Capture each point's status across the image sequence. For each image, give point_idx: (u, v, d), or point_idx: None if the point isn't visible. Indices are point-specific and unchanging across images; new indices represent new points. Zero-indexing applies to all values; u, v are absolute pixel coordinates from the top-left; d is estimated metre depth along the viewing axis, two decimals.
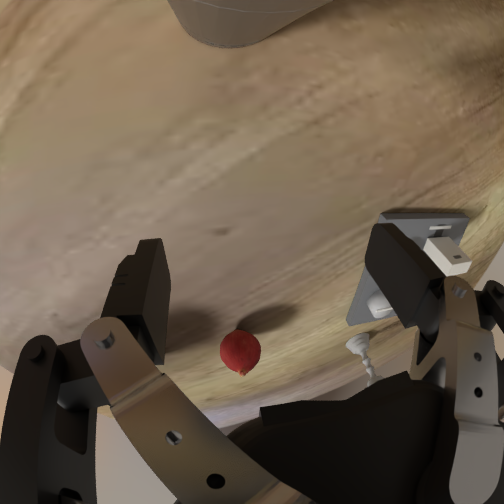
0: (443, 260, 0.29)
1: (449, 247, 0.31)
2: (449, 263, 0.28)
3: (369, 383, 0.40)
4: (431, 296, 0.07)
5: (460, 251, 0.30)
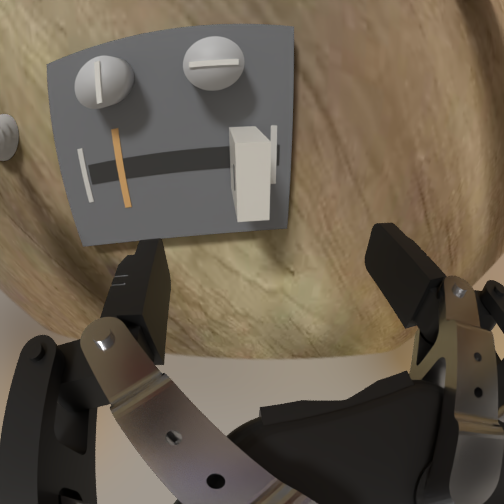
0: (256, 136, 0.16)
1: None
2: (266, 140, 0.15)
3: None
4: (431, 296, 0.07)
5: None
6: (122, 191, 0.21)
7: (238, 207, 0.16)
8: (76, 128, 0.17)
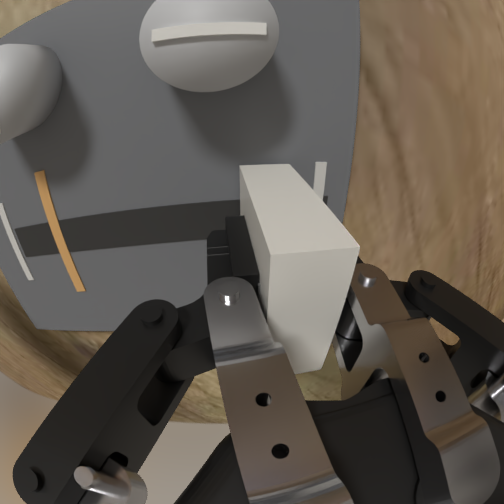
0: (310, 212, 0.07)
1: None
2: (343, 235, 0.06)
3: None
4: None
5: None
6: (68, 269, 0.12)
7: None
8: None
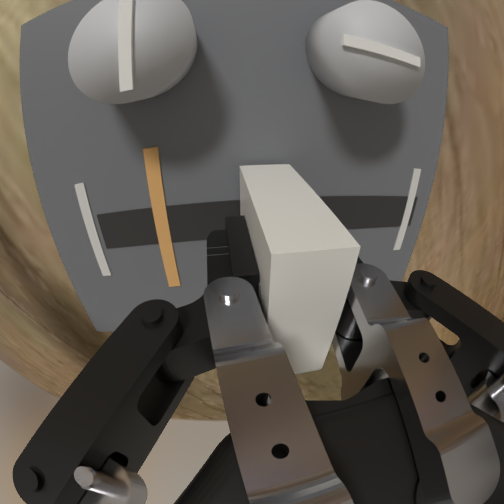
0: (311, 212, 0.07)
1: None
2: (343, 234, 0.06)
3: None
4: None
5: None
6: (164, 262, 0.13)
7: None
8: (71, 143, 0.09)
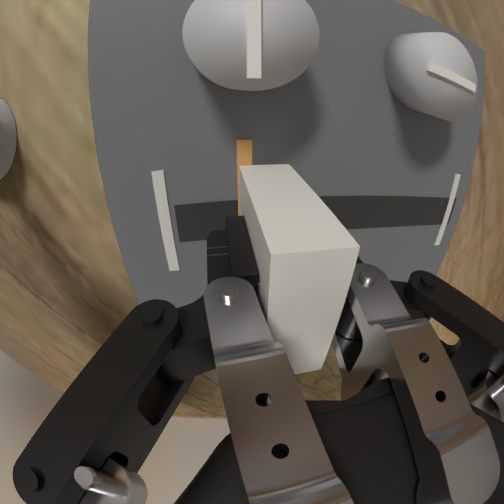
0: (310, 212, 0.07)
1: None
2: (343, 234, 0.06)
3: None
4: None
5: None
6: None
7: None
8: (153, 126, 0.09)
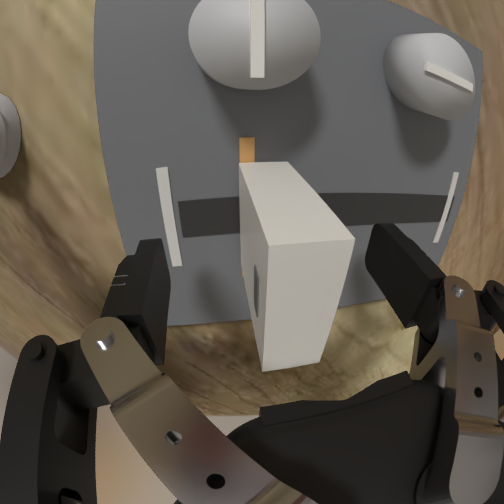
0: (307, 207, 0.07)
1: None
2: (339, 227, 0.06)
3: None
4: (431, 296, 0.07)
5: None
6: None
7: (265, 355, 0.08)
8: (158, 124, 0.09)
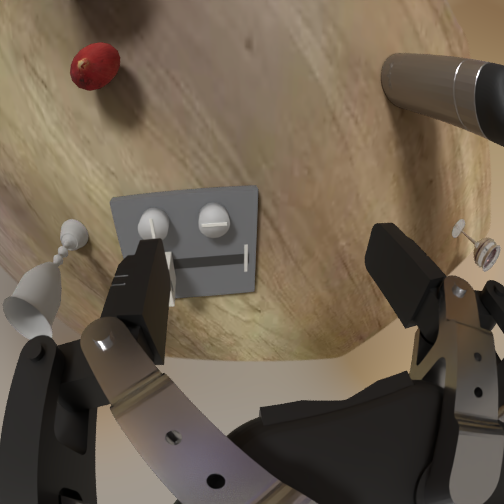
0: None
1: (173, 277, 0.38)
2: None
3: (49, 263, 0.26)
4: (431, 296, 0.07)
5: (174, 291, 0.38)
6: None
7: None
8: (135, 242, 0.36)
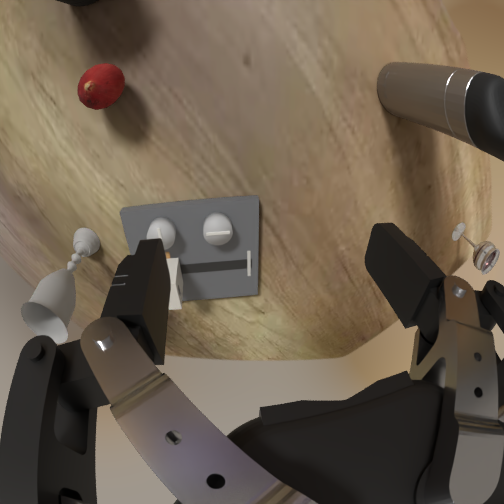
0: (172, 276, 0.37)
1: (180, 281, 0.40)
2: (174, 281, 0.36)
3: (63, 270, 0.30)
4: (431, 296, 0.07)
5: (181, 294, 0.40)
6: None
7: None
8: None
